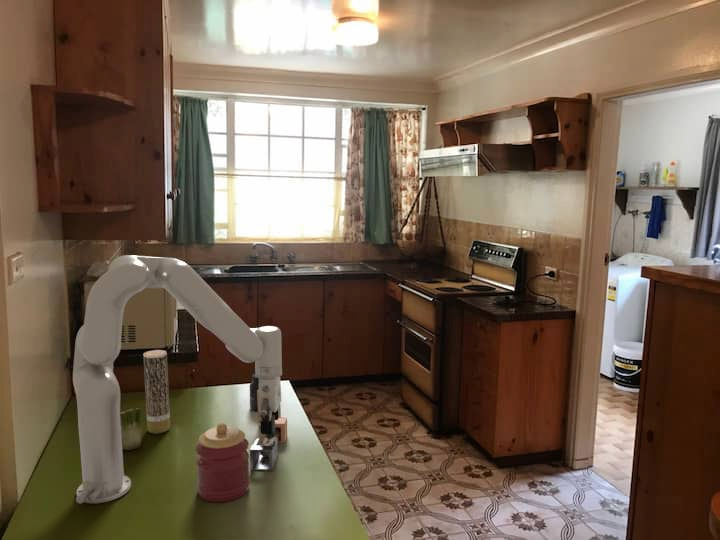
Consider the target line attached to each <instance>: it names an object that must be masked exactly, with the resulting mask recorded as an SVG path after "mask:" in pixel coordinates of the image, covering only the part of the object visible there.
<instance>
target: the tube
mask: <svg viewBox="0 0 720 540" xmlns="http://www.w3.org/2000/svg"><path fill="white" fill-rule="evenodd" d="M268 416H269V414H268ZM271 420H272V434H265V439H264V441H263V442H261V445H260V446H272V444H273V442H274V439H277V440H278V437H279V435H280V431H279V429H278V428H276V427H275V415H274V414H271ZM260 455H262V456H264V457H269V452H260Z"/></svg>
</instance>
